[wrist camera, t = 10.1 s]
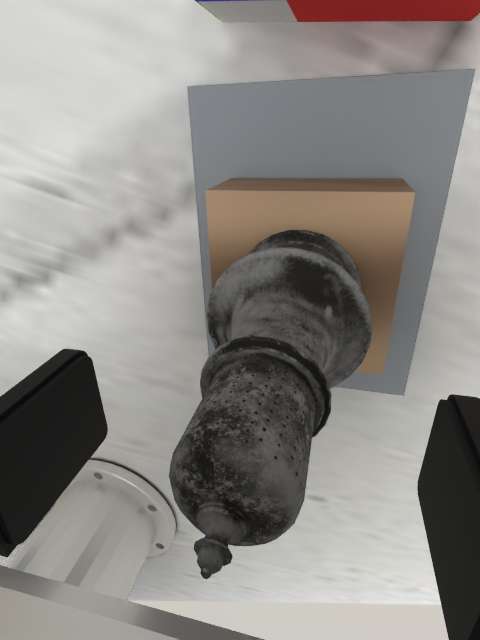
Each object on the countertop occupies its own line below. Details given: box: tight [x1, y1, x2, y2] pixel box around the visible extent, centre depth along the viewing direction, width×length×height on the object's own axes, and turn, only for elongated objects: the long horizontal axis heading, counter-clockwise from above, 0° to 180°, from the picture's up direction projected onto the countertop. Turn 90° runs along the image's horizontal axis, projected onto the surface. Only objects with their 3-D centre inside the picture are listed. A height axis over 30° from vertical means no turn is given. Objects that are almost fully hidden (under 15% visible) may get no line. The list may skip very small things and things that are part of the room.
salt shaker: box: [169, 230, 373, 579], centre depth 11 cm, size 6×6×12 cm
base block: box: [205, 178, 415, 375], centre depth 18 cm, size 8×8×4 cm
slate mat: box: [187, 69, 475, 396], centre depth 20 cm, size 16×12×1 cm
